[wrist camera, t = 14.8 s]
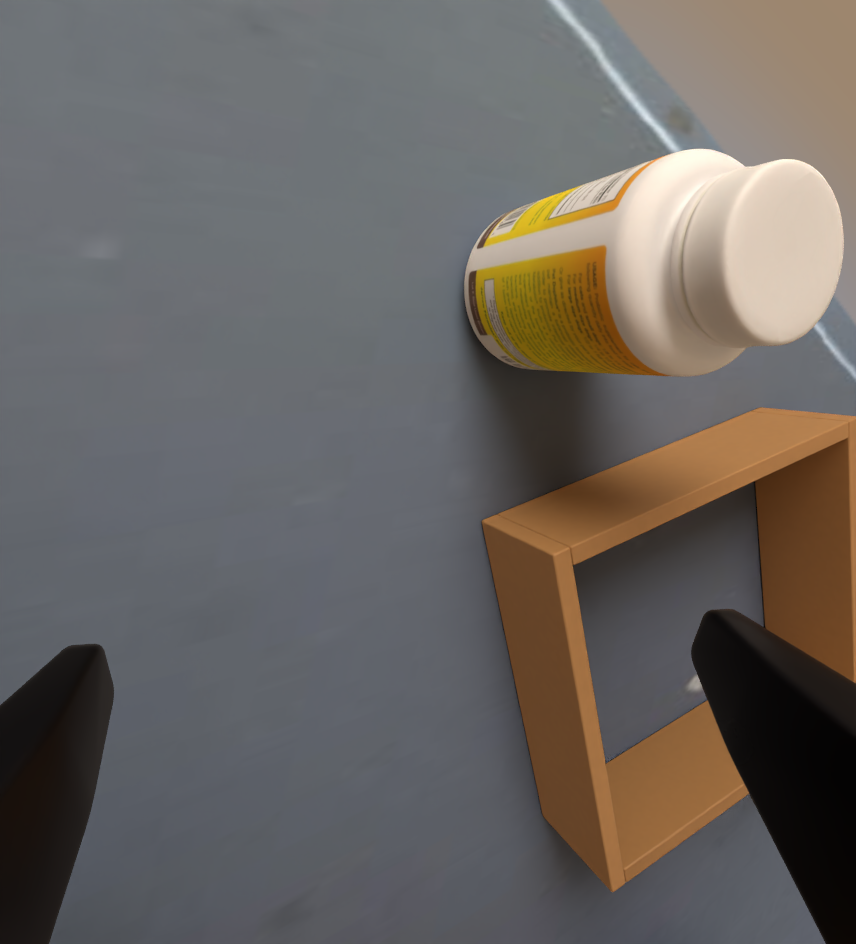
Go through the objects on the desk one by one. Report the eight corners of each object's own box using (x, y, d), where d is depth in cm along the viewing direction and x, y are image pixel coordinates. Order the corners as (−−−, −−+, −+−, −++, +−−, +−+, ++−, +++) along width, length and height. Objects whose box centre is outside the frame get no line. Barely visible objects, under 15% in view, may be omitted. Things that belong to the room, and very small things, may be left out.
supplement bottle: (553, 391, 24) (811, 418, 15) (433, 331, 22) (660, 320, 13) (605, 254, 24) (896, 200, 15) (492, 178, 22) (762, 57, 13)
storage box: (542, 816, 28) (612, 893, 24) (480, 520, 24) (553, 554, 20) (776, 667, 34) (864, 710, 30) (759, 406, 30) (860, 416, 26)
